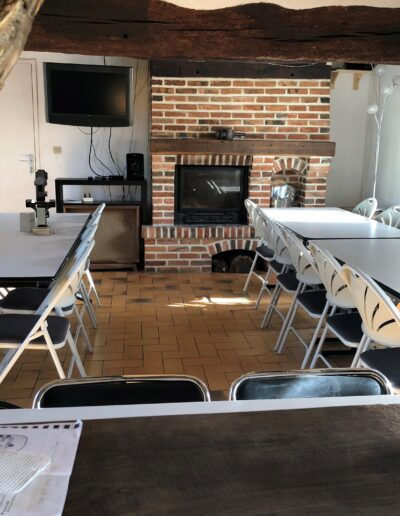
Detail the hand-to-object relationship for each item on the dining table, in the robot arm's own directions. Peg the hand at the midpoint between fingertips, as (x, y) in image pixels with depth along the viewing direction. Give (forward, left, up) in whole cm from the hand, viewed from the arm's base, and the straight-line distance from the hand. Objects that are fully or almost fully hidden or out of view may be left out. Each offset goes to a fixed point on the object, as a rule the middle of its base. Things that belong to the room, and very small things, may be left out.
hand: (41, 213), depth 343 cm
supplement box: (-12, -11, -14) cm, 22 cm away
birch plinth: (-1, 0, -14) cm, 14 cm away
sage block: (-1, 0, -7) cm, 7 cm away
